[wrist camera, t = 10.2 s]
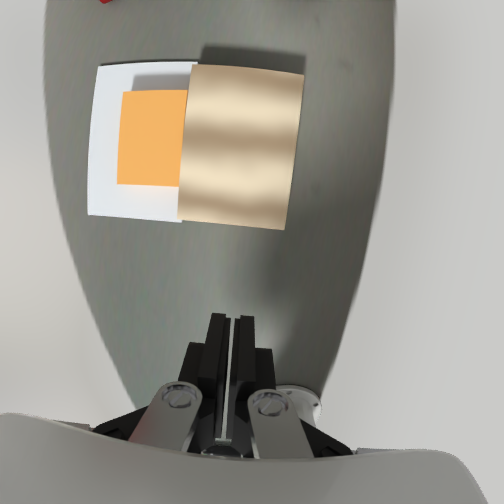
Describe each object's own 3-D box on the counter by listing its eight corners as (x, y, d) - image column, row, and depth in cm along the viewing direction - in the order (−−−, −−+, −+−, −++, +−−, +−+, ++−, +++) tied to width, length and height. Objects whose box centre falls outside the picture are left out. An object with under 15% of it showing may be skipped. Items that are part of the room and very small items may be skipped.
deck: (281, 222, 34) (284, 230, 31) (182, 213, 33) (176, 219, 30) (299, 81, 28) (304, 75, 26) (196, 71, 28) (192, 64, 25)
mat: (182, 221, 34) (181, 222, 33) (89, 213, 33) (87, 214, 33) (198, 62, 28) (197, 61, 27) (99, 67, 27) (98, 66, 27)
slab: (183, 184, 32) (179, 186, 30) (124, 181, 31) (116, 184, 29) (191, 93, 28) (187, 89, 26) (130, 94, 28) (123, 91, 26)
